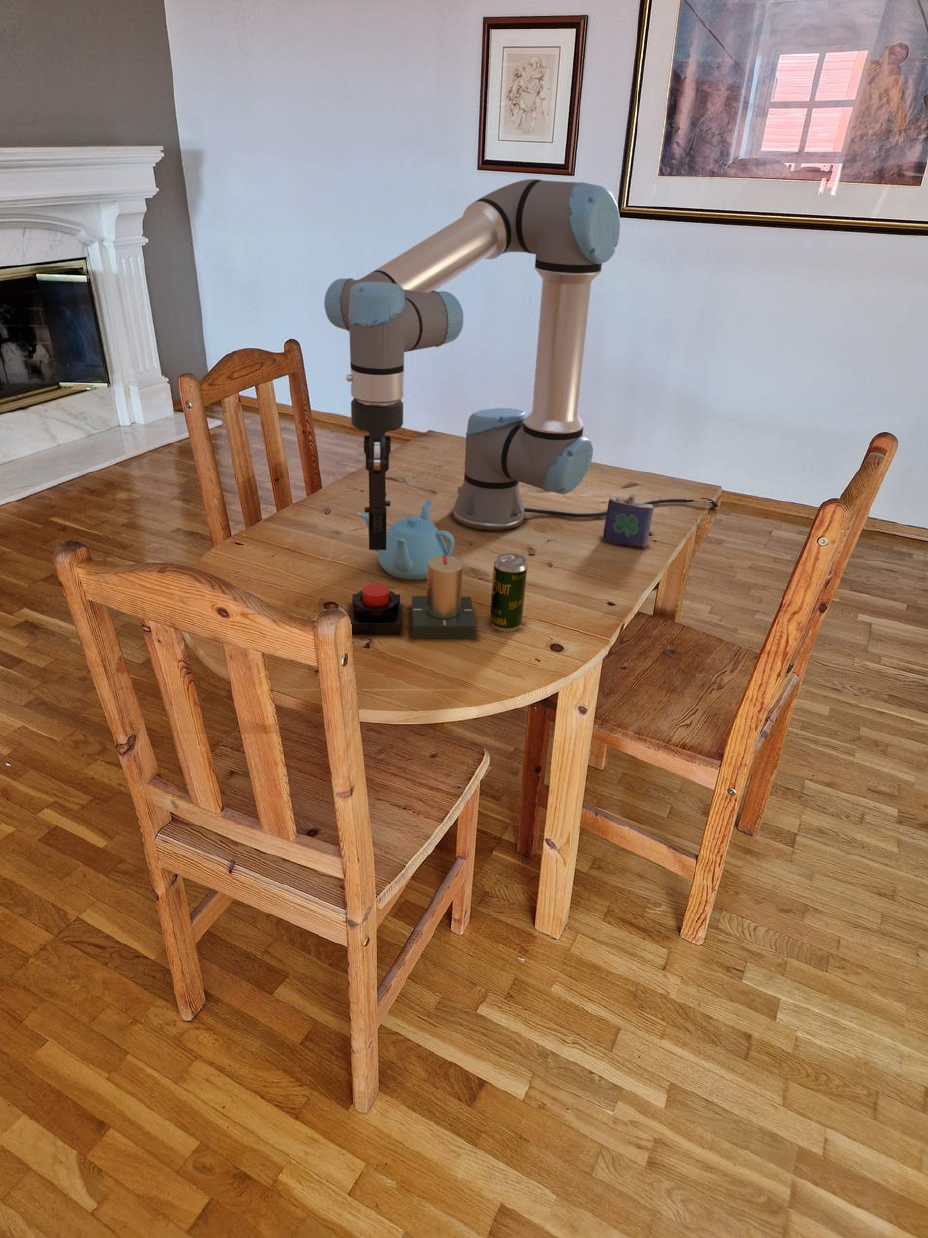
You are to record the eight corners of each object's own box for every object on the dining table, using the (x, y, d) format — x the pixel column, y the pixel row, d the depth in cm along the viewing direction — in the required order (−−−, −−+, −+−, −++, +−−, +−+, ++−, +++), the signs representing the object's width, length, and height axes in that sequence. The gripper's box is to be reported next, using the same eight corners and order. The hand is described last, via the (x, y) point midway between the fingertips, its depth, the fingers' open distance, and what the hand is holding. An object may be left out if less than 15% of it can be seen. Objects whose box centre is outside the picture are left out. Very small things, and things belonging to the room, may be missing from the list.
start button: (389, 594, 134) (389, 583, 133) (389, 607, 131) (389, 596, 130) (362, 594, 134) (362, 583, 133) (361, 607, 130) (361, 595, 129)
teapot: (465, 577, 150) (469, 525, 145) (392, 593, 143) (393, 539, 137) (427, 546, 160) (429, 498, 155) (358, 560, 153) (357, 509, 148)
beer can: (502, 613, 139) (508, 549, 133) (527, 624, 136) (534, 559, 130) (482, 624, 135) (487, 558, 129) (508, 636, 132) (514, 569, 126)
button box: (399, 605, 139) (400, 584, 137) (400, 635, 130) (400, 614, 128) (352, 605, 138) (352, 584, 136) (350, 635, 129) (349, 613, 127)
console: (469, 609, 139) (470, 595, 138) (475, 639, 130) (476, 625, 129) (411, 608, 138) (412, 594, 137) (412, 639, 129) (413, 624, 128)
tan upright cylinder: (461, 618, 131) (464, 570, 126) (426, 618, 130) (428, 569, 126) (458, 602, 136) (461, 554, 131) (425, 601, 135) (427, 553, 131)
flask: (647, 545, 167) (656, 496, 162) (645, 550, 165) (653, 500, 159) (603, 536, 170) (611, 487, 165) (600, 541, 168) (607, 492, 162)
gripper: (352, 386, 122) (355, 530, 134) (348, 411, 111) (352, 566, 122) (402, 388, 123) (401, 531, 134) (404, 412, 111) (402, 566, 123)
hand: (377, 547), depth 128 cm, fingers closed
